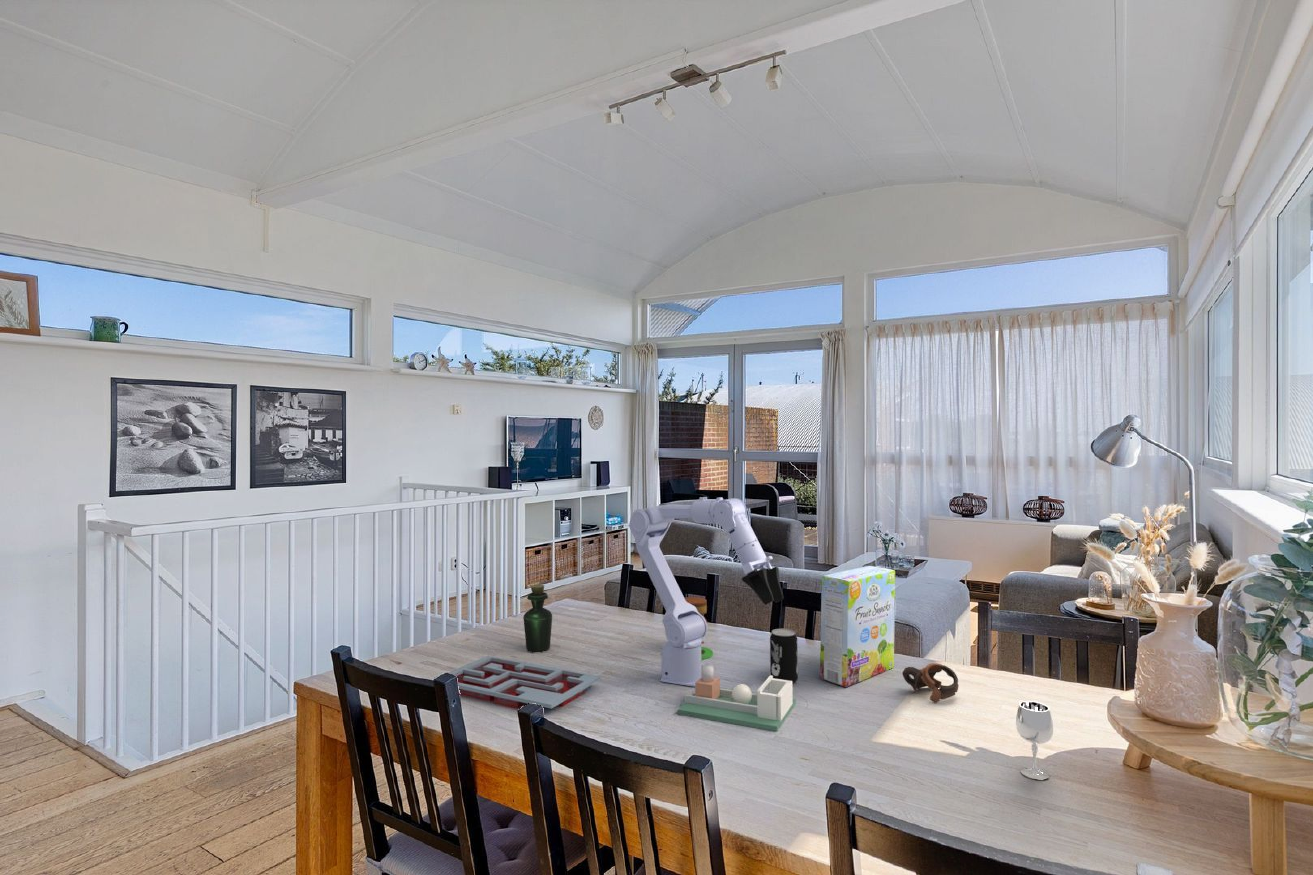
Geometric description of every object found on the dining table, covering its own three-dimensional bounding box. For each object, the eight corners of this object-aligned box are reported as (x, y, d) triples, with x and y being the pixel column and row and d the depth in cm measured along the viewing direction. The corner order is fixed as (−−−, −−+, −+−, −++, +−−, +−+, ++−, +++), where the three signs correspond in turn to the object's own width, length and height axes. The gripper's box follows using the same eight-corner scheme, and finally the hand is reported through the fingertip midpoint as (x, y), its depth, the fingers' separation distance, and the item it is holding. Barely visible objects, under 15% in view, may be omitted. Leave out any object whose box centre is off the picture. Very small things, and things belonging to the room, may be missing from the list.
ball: (729, 706, 150) (729, 686, 150) (735, 699, 154) (735, 680, 154) (748, 709, 148) (748, 689, 148) (754, 702, 152) (754, 682, 152)
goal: (757, 716, 145) (757, 690, 145) (770, 700, 154) (770, 675, 154) (780, 720, 142) (780, 693, 142) (792, 703, 152) (792, 678, 151)
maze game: (432, 692, 164) (431, 679, 164) (488, 667, 181) (488, 655, 181) (551, 719, 148) (551, 704, 148) (600, 689, 165) (600, 675, 165)
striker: (695, 700, 153) (695, 668, 153) (703, 692, 158) (703, 662, 158) (712, 703, 151) (712, 671, 151) (719, 695, 156) (719, 664, 156)
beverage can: (797, 686, 165) (797, 636, 165) (769, 684, 166) (769, 634, 166) (797, 676, 171) (797, 628, 171) (770, 675, 172) (770, 627, 172)
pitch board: (677, 713, 149) (677, 702, 149) (703, 688, 163) (703, 678, 163) (777, 731, 140) (777, 719, 140) (795, 703, 154) (795, 692, 154)
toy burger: (723, 650, 192) (723, 597, 192) (702, 663, 182) (701, 606, 182) (687, 644, 199) (686, 592, 199) (664, 656, 188) (663, 601, 188)
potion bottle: (538, 643, 201) (537, 581, 201) (558, 648, 196) (558, 585, 196) (517, 650, 194) (516, 586, 194) (538, 655, 190) (537, 590, 190)
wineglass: (1009, 767, 124) (1008, 700, 124) (1039, 765, 124) (1039, 699, 124) (1029, 783, 118) (1028, 713, 118) (1061, 781, 119) (1060, 711, 119)
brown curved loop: (951, 690, 162) (962, 666, 158) (950, 722, 155) (961, 697, 151) (899, 673, 166) (908, 649, 162) (896, 703, 158) (905, 678, 154)
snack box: (849, 689, 162) (848, 580, 162) (818, 680, 169) (817, 575, 169) (897, 668, 177) (896, 568, 177) (867, 660, 183) (866, 563, 183)
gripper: (751, 537, 150) (780, 595, 145) (771, 539, 163) (798, 592, 158) (724, 552, 152) (752, 609, 147) (746, 552, 165) (772, 605, 160)
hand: (774, 601), depth 153 cm, fingers open, 7 cm apart
